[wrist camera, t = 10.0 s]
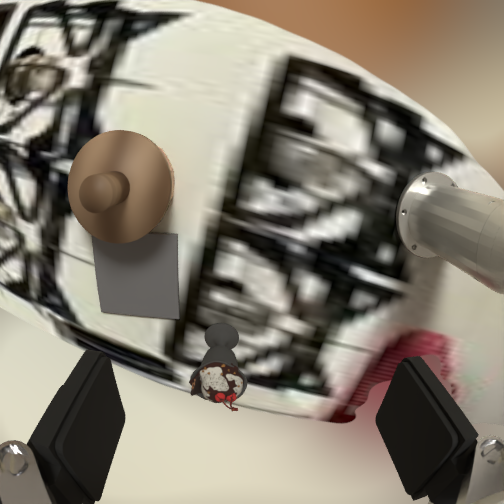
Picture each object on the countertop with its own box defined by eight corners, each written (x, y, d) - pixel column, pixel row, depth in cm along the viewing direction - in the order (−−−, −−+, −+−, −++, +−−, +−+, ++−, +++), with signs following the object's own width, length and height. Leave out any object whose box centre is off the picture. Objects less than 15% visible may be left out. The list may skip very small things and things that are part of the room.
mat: (177, 233, 38) (176, 235, 37) (179, 317, 42) (179, 319, 41) (93, 230, 37) (91, 232, 37) (102, 309, 41) (101, 311, 40)
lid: (174, 128, 29) (160, 123, 23) (171, 242, 33) (158, 261, 27) (73, 135, 29) (44, 133, 23) (75, 238, 32) (49, 255, 26)
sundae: (254, 336, 43) (262, 412, 29) (223, 362, 44) (219, 438, 30) (221, 308, 41) (214, 382, 27) (189, 336, 43) (173, 411, 28)
